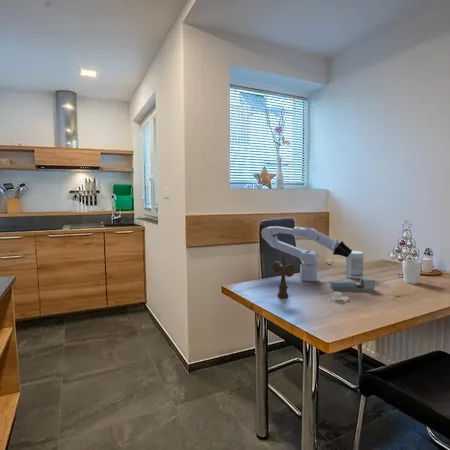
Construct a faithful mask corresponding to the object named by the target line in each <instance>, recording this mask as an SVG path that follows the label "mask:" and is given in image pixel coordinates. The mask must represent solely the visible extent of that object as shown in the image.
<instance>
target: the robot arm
mask: <svg viewBox="0 0 450 450" xmlns="http://www.w3.org/2000/svg"><path fill="white" fill-rule="evenodd" d="M260 233H261V237H262V240H265V242H266V243H267V244H268V245H269V246H270V247H271V248H273V249H276V250H279V251H281V252H283V253H286V254H289V255H291V256H293V257H297V258H299V259H300V261H302V262H303V263H300V267H299V278H300V281H302V282H319V281H320V279H318V266H319V263H318V260H319V257H320V256H319V253H318V252H317V251H315V250H308V249H302V248H299V247H297V246H295V245H292V244H289V243H287V242H283V241H281V240H279V238H278V236H277V235H278V234H287V235H292V236H293V237H294V238H301V239H307V240H309V241H313V242H316V243H317V244H319V245H321V246H322V247H324V248H326V249H328V250H330V251H331V252H332V255H335V256H342V257H345V258H346V257H348V256H349V254H351V252H352V251H353V250H352V249H351V248H350V247H348V246H347V245H346V243H345V242H344V241H343V240H341V241H339V239H338V238H337V239H333V238H331V237H330V236H328V235H326V234H324V233H322V232H319V231H318V230H317V229H315V228H313V227H310V228H309V227H307V226H306V227H301V226H299V225H298V226H295V227H293V228H290V227H284V226H277V225H276V226H275V225H274V226H271V225H270V226H268V227H263V228H262V230H261V232H260Z"/></svg>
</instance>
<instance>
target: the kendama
mask: <svg viewBox="0 0 450 450" xmlns="http://www.w3.org/2000/svg"><path fill="white" fill-rule="evenodd" d="M272 270H273V273H274V272H275V273H279V272H280V273H281V277H280V282H279V285H278V293H277V297H279V298H281V299H282V298H283V299H284V298H288V297H289V294H288V288H289V287H288V285H287V282H286V277H287V278H290V277H293V276H294V274H295V270H296V268H295V265H294V264H293V263H290V264H287V265H286V263H285V255H283V256H282V262H281V261H279V260H278V261H277V260H276V261H274V262H273V265H272Z"/></svg>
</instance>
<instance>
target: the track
mask: <svg viewBox="0 0 450 450" xmlns="http://www.w3.org/2000/svg"><path fill="white" fill-rule="evenodd" d="M375 285H376V280H375V279H374V278H372V277H371V276H363V277H360V278H359V284H357V283H356V288H338V287H333V290H332V291H333V292H358V291H368V292H367V293H370V292H371V293H375V288H376V287H375Z"/></svg>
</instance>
